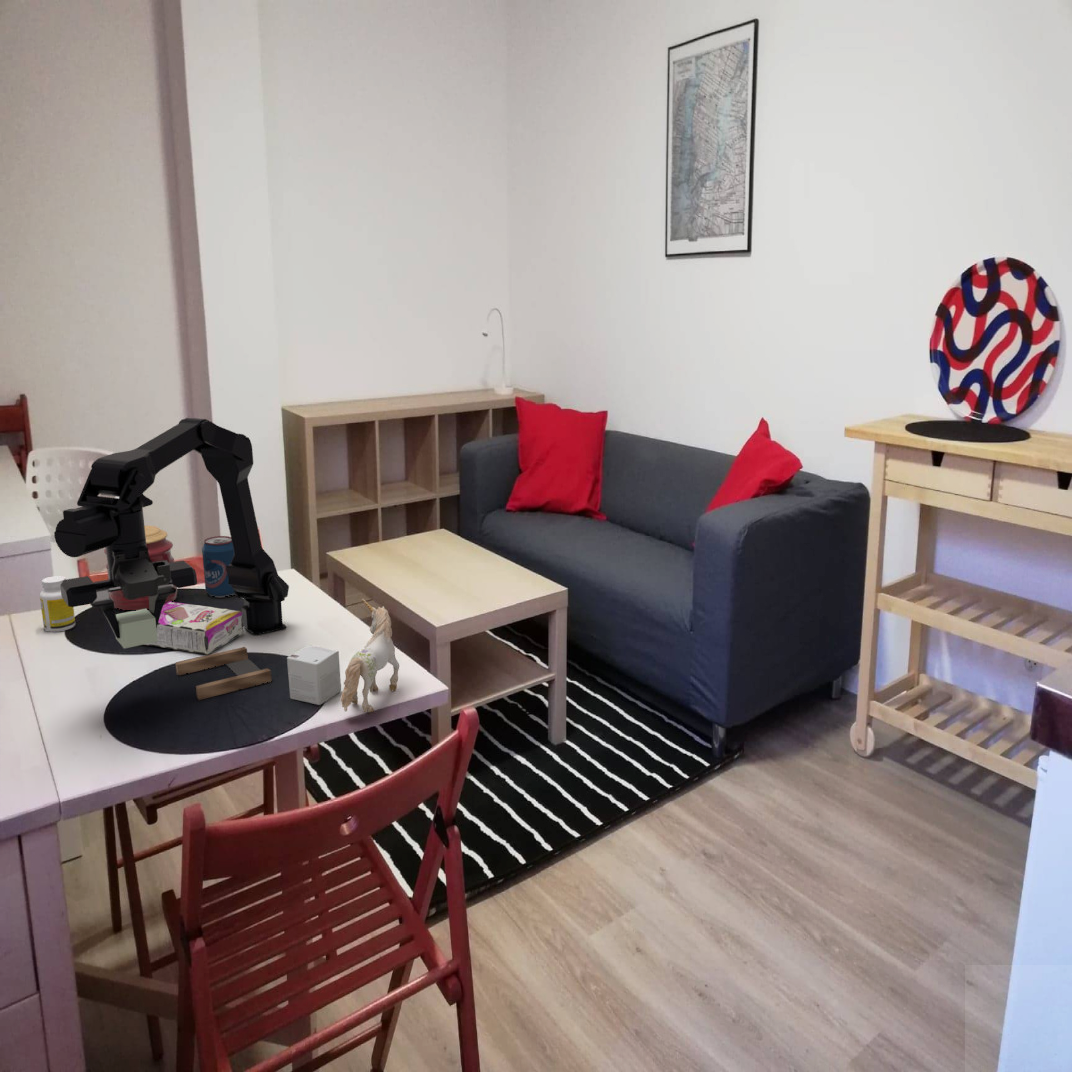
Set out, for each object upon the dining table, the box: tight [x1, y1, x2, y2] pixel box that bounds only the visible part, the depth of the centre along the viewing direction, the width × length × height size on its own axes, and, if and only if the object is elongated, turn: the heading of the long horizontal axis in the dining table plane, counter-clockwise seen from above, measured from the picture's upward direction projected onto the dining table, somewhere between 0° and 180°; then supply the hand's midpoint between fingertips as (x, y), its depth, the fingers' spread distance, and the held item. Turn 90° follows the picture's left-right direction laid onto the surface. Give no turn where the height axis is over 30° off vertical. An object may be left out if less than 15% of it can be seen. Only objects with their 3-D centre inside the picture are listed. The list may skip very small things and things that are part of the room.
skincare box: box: [286, 644, 342, 706], centre depth 145 cm, size 6×6×7 cm
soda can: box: [201, 535, 236, 598], centre depth 190 cm, size 7×7×12 cm
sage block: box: [115, 609, 158, 650], centre depth 140 cm, size 5×5×4 cm
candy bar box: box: [143, 601, 244, 655], centre depth 166 cm, size 11×5×16 cm
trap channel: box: [175, 646, 272, 701], centre depth 151 cm, size 12×12×2 cm
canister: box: [103, 524, 178, 611], centre depth 183 cm, size 13×13×18 cm
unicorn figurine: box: [340, 598, 400, 714], centre depth 144 cm, size 7×20×13 cm, turn 0°
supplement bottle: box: [39, 575, 76, 633], centre depth 170 cm, size 5×5×10 cm
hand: (136, 633), depth 141 cm, fingers closed on sage block, 5 cm apart
